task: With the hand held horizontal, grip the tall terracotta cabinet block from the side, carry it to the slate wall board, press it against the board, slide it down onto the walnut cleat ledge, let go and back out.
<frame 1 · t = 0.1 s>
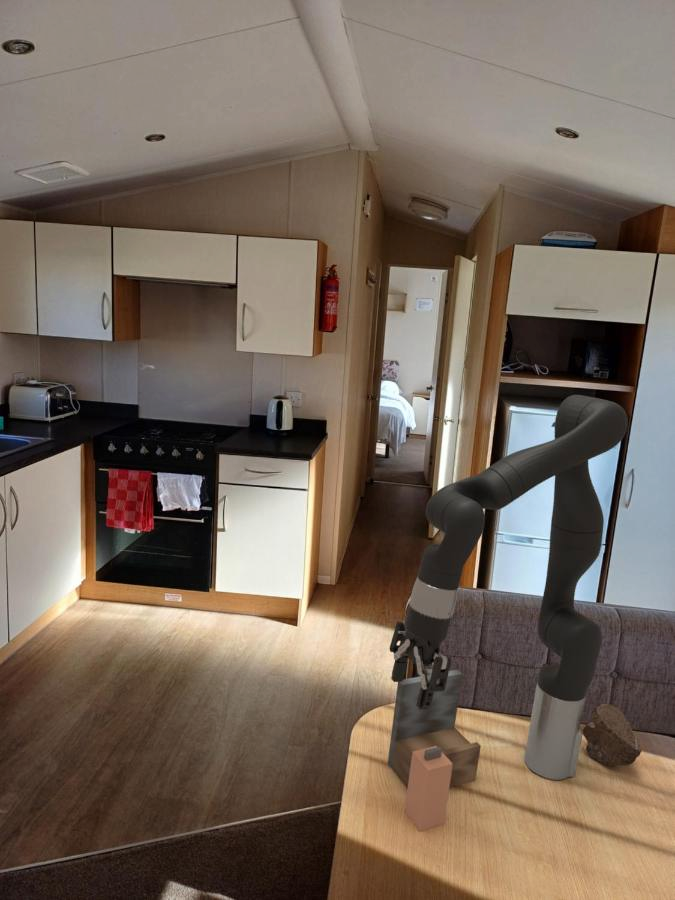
hand: (409, 693, 113), 22 cm above the table, tool pointing down, fingers open, 8 cm apart
rock: (603, 758, 137), on the table
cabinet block: (423, 817, 115), on the table
cleat board: (431, 772, 127), on the table
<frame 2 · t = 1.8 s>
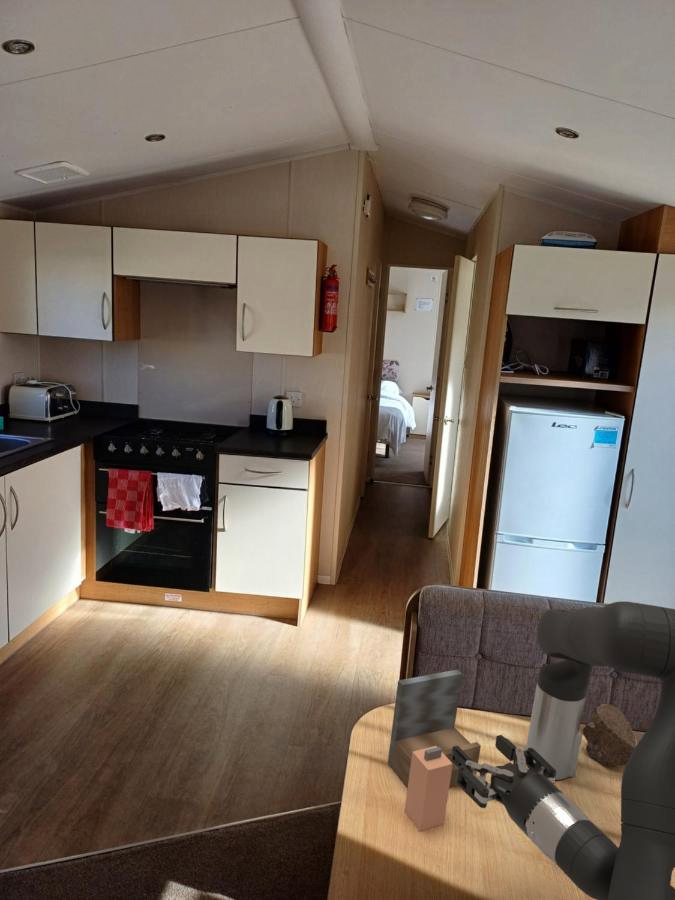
hand: (475, 745, 102), 21 cm above the table, tool horizontal, fingers open, 8 cm apart
nothing on the table moved.
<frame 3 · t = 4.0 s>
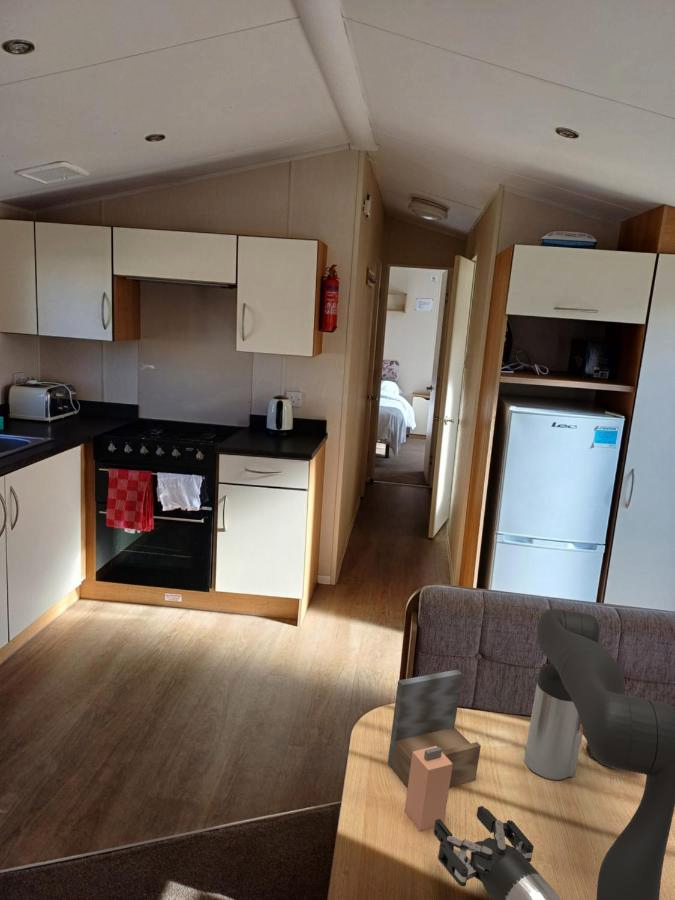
hand: (457, 817, 106), 7 cm above the table, tool horizontal, fingers open, 8 cm apart
nothing on the table moved.
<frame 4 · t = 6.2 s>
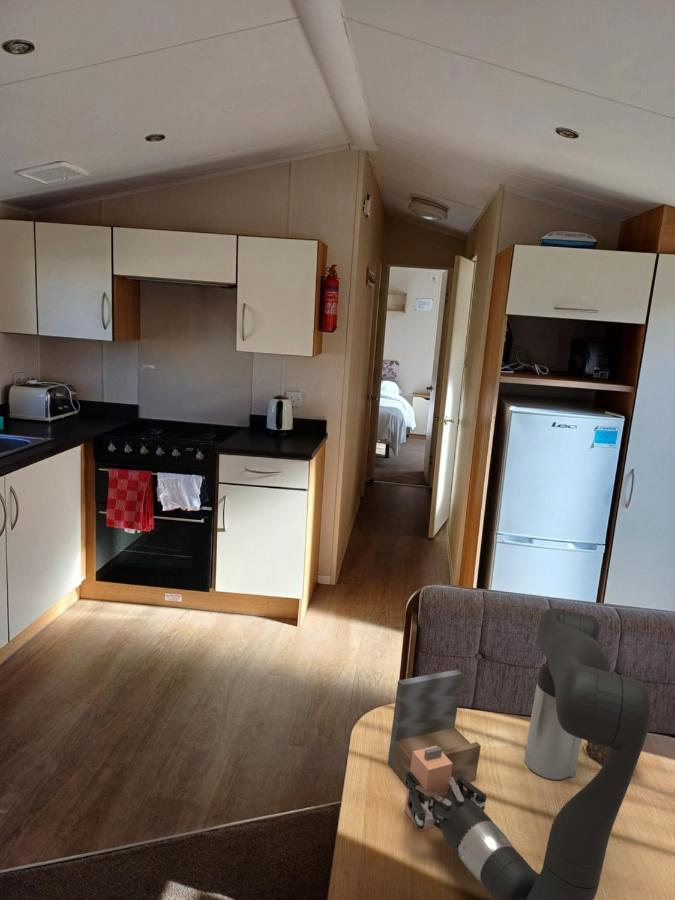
hand: (420, 772, 116), 7 cm above the table, tool horizontal, fingers closed on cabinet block, 5 cm apart
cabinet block: (423, 817, 115), on the table, touching gripper
everything else where it was.
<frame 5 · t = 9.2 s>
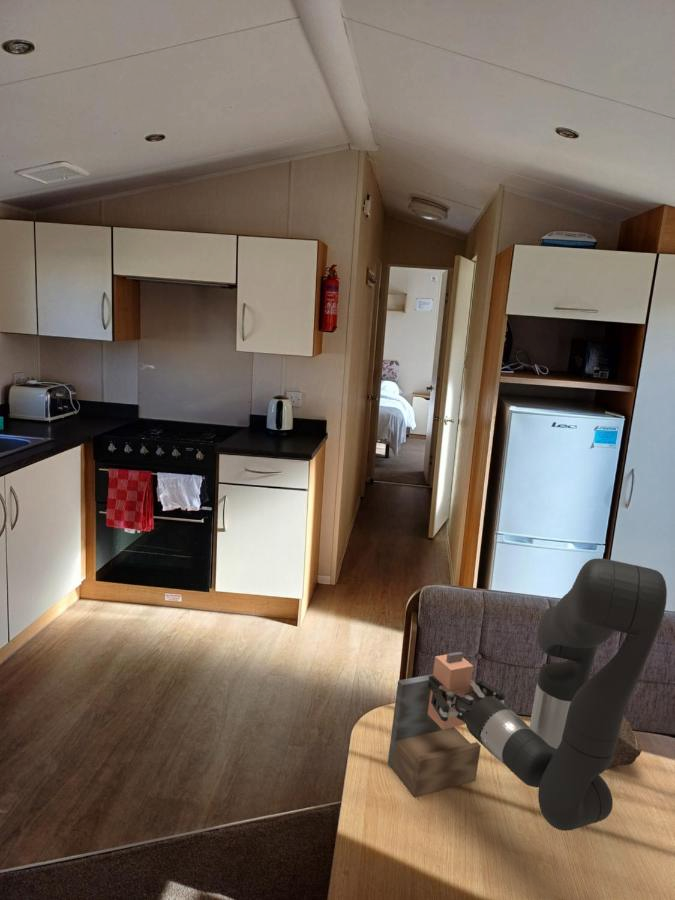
hand: (442, 678, 124), 20 cm above the table, tool horizontal, fingers closed on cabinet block, 5 cm apart
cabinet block: (445, 719, 123), point 13 cm above the table, touching gripper
everything else where it was.
when the fingers open (14 cm above the table, at t = 11.9 s): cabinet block drops 1 cm, resting on cleat board.
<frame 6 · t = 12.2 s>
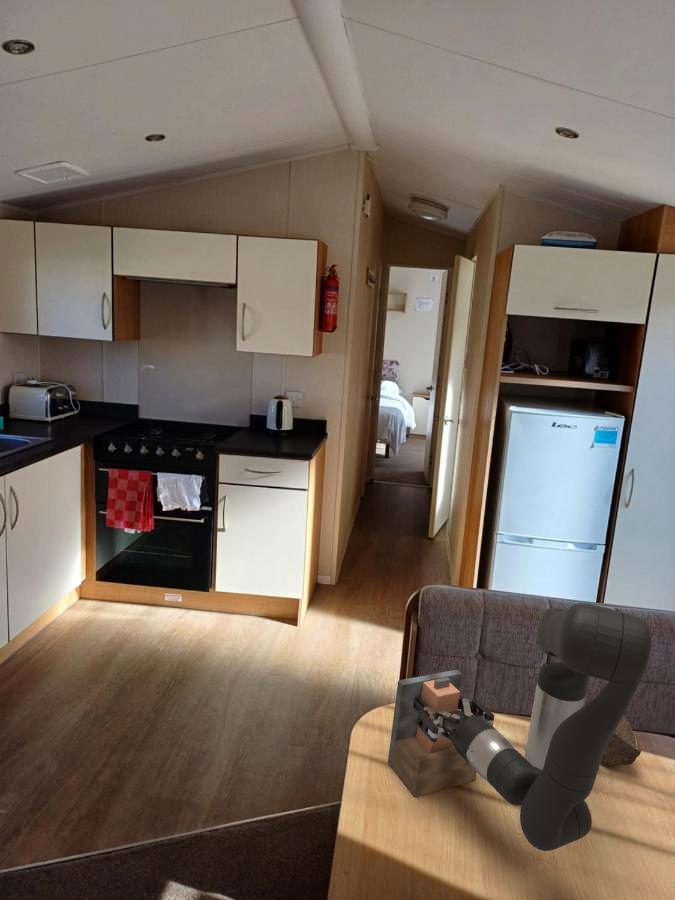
hand: (432, 697, 127), 15 cm above the table, tool horizontal, fingers open, 7 cm apart
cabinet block: (433, 742, 126), point 6 cm above the table, touching cleat board
everything else where it was.
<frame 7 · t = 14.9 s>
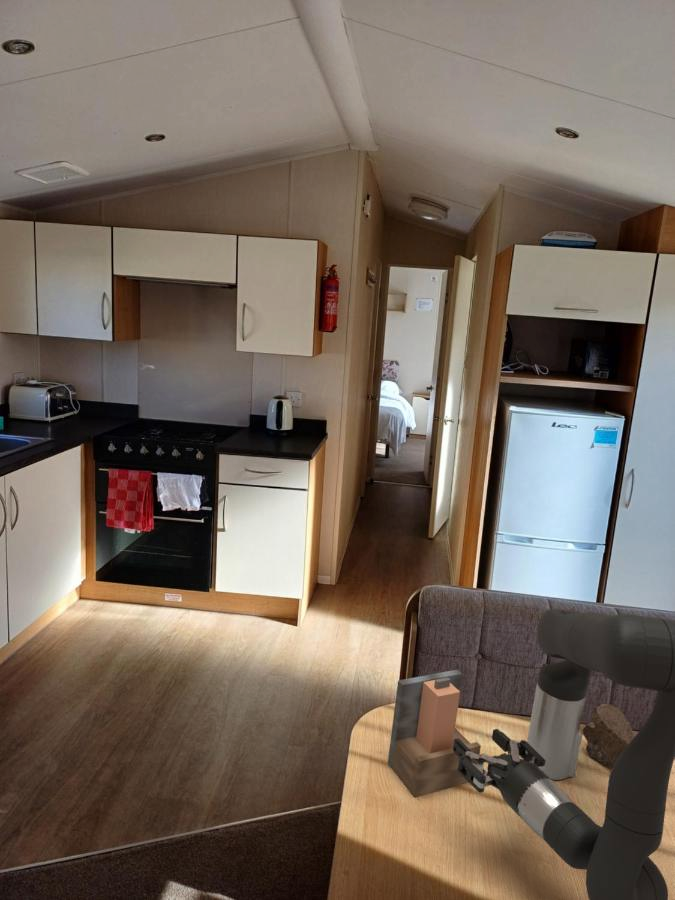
hand: (474, 738, 115), 15 cm above the table, tool horizontal, fingers open, 8 cm apart
nothing on the table moved.
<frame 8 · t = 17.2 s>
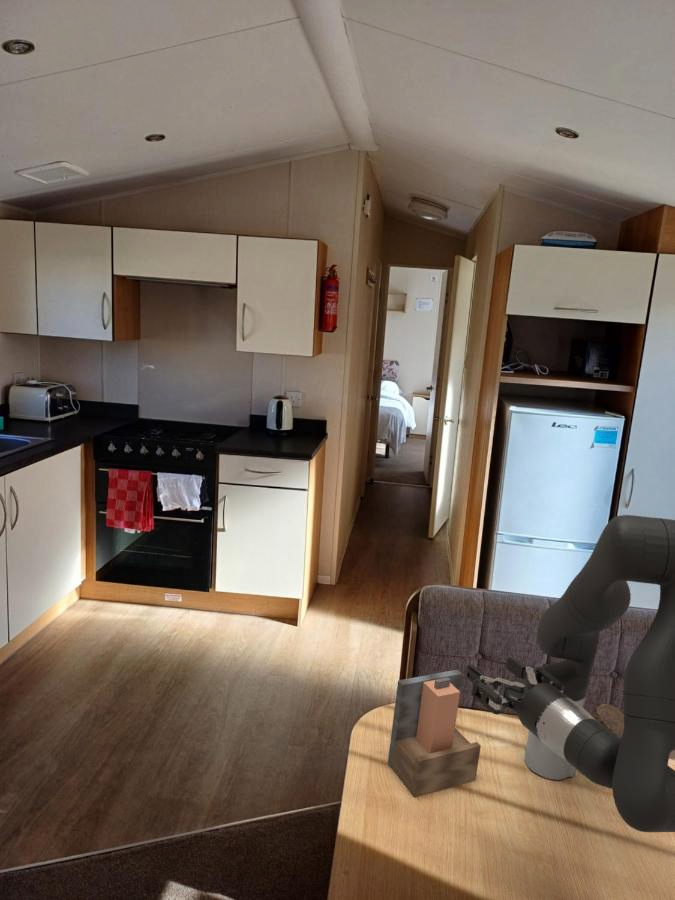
hand: (488, 665, 110), 30 cm above the table, tool horizontal, fingers open, 8 cm apart
nothing on the table moved.
at the end: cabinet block inside the target area on the cleat board (0.7 cm from its centre), point 6.0 cm above the cleat board's base; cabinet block tilted 0°; the gripper is holding nothing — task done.
